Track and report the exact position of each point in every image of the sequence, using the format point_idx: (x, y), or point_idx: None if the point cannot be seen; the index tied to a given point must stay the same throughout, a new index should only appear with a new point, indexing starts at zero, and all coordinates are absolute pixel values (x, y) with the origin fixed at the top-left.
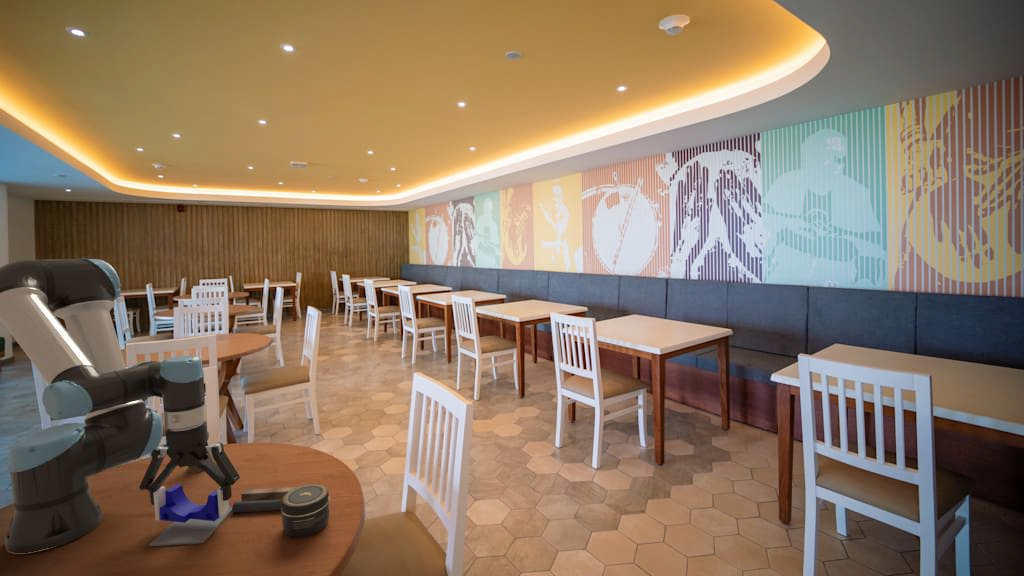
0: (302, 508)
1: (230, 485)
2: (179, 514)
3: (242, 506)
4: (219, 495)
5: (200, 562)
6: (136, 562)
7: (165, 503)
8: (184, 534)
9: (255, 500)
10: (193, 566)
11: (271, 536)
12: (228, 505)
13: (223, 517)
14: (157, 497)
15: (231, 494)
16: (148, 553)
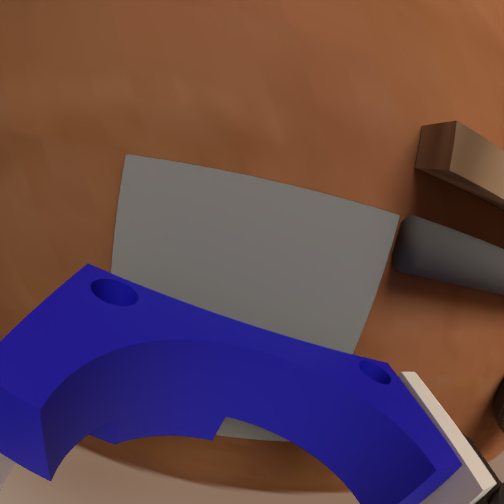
0: None
1: (495, 486)
2: (177, 433)
3: (447, 280)
4: (425, 502)
5: (319, 484)
6: (135, 457)
7: None
8: None
9: (472, 192)
10: (305, 491)
11: (470, 411)
12: (425, 388)
13: (362, 312)
14: (10, 467)
15: (471, 442)
16: (141, 437)
